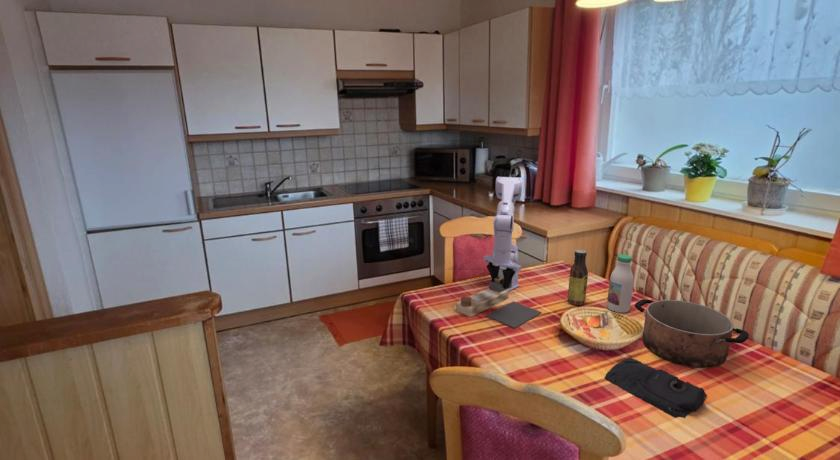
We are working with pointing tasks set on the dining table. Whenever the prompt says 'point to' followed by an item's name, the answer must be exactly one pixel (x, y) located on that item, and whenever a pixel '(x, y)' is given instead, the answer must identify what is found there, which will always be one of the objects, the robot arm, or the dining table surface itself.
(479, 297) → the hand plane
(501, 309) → the rubber mat
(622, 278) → the milk bottle
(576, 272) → the sauce bottle
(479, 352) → the dining table surface
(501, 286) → the lever cap
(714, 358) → the cooking pot
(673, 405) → the black flat holed part
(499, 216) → the robot arm
